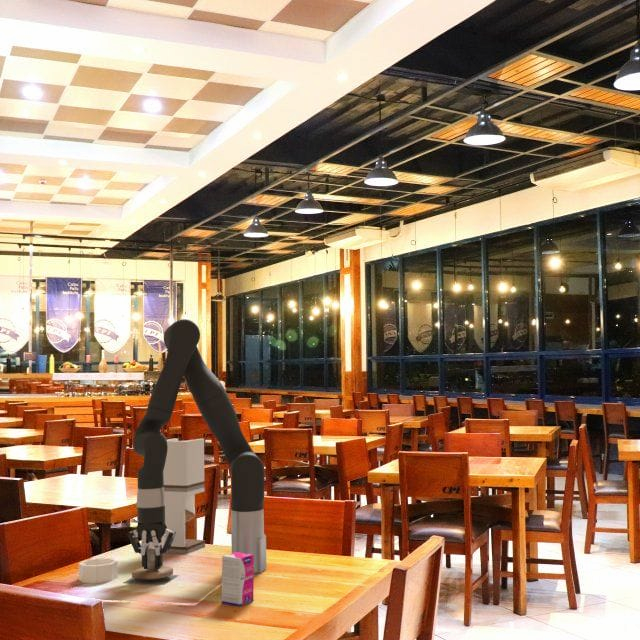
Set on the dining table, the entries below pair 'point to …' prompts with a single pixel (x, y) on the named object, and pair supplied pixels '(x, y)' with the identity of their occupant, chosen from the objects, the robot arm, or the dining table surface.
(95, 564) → the bowl
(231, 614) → the dining table surface
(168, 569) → the lid
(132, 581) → the mat
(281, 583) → the dining table surface
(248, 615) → the dining table surface
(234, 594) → the supplement box
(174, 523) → the white coffee maker
